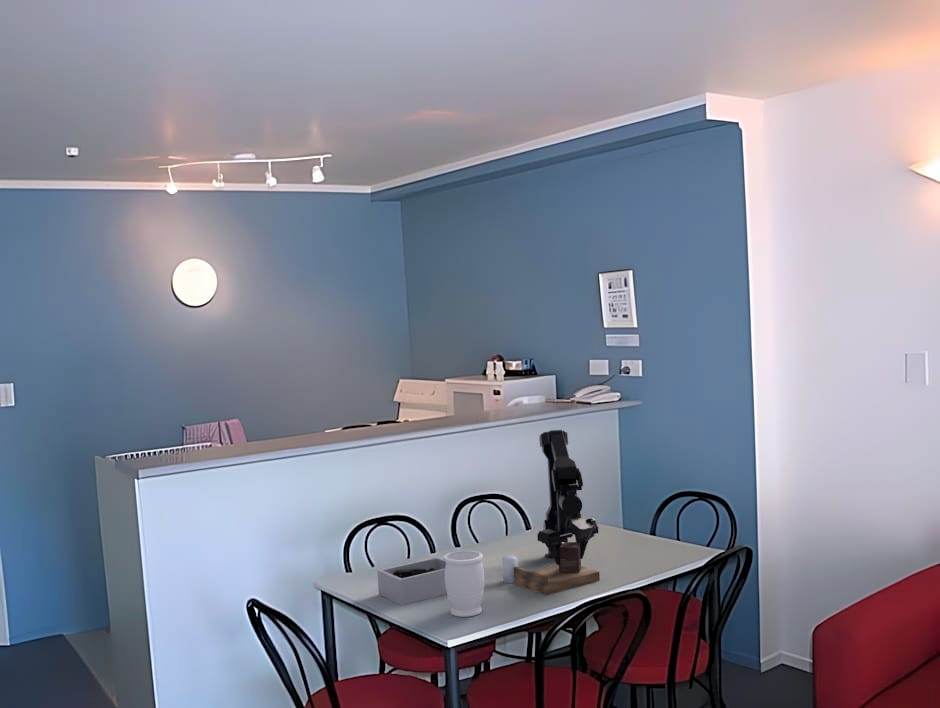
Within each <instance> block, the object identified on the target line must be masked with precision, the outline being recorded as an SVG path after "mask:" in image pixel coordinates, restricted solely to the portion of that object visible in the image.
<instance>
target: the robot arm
mask: <svg viewBox="0 0 940 708" xmlns="http://www.w3.org/2000/svg"><path fill="white" fill-rule="evenodd" d="M538 441H539V447H540V448H541V451H542V453H543V455H544V456H545V458H546V459H547V474H548V492H549V494H548V495H549V505H548V509H547V510H546V512H545V519H543V529H542V530H539V531H538V533H537V541H538V542H541V543H542V544H545V546H546V548H547V551H548V552H547V553H544V557H547V558H550V559H553V561H554V562H555V565H559V564H560V546H561V544H562V543H561V542H569V539H571V538H572V537H575V542H580V555H581V560H583V558H584V555H585V552H586V549H587V545H588V544H589V541H590V540H591V539H592V538H593V537H595V535H596V534H599V525H597V522H596V519H595V518H594V517H590V518H589V517H588V518H587V519H586V518H585V519H583V518H582V514H581V511H582V510H583V502H582V499H581V498H580V497H579V496H578V493H577V491H582V490H583V486H584V482H583V478H582V472H581V471H580V469H579V468H578V467H577V465H576V461H575V460H574V459H572V458H570V455H569V451H568V448H567V446H568V445H569V436H568V432H566V431H565V430H562V429H553V430H549V431H543V432H542V433H541V434H539V439H538Z"/></svg>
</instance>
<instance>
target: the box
mask: <svg viewBox="0 0 940 708" xmlns="http://www.w3.org/2000/svg"><path fill="white" fill-rule="evenodd" d="M561 543H562V544H561V546H560V564H559V572H580V569H581V566H582V559H581V555H580V542H576V541H573V542H572V541H568V542H561Z"/></svg>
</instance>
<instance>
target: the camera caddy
mask: <svg viewBox="0 0 940 708" xmlns="http://www.w3.org/2000/svg"><path fill="white" fill-rule="evenodd" d="M445 566H446V562H445V561H444V558H441V557H439V556H434V557H431V558H425V559H422V560H417V561H413V562H409V563H405V564H399V565H395V566H390V567H386V568H382V569H377V570H376V571H377V586H378V588H377V589H378V595H379V596H380V597H382V598H385V599H387V600H389V601H391V602H392V603H395V604H398V605H399V606H401V607H403V606H406V605H409V604H414V603H417V602H422V601H427V600H429V599H430V600H431V599H433V598H437V597H441V596H446V595H447V590H446V586H445ZM419 568H421V569H426V570H429V569H430V568H434V569H439V570H436V571H432V572H428V573H423V574H419V575H415V576H410V577H406V578H399V577H397V576H394V575H393V573H394V572H395V571H397V570H407V569H419Z"/></svg>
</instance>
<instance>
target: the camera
mask: <svg viewBox="0 0 940 708" xmlns="http://www.w3.org/2000/svg"><path fill="white" fill-rule="evenodd" d="M436 570H439V569H434V568H430V569H429V570H426V569H421V568H419V569H407V570H397V571H395V572H394V573H393V575H394V576H397V577H399V578H406V577H410V576H415V575H419V574H423V573H428V572H432V571H436Z"/></svg>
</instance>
